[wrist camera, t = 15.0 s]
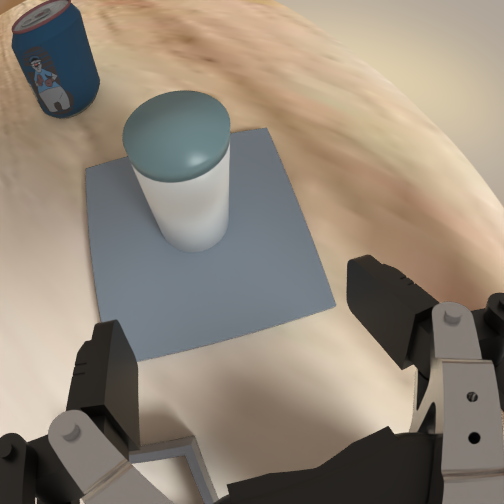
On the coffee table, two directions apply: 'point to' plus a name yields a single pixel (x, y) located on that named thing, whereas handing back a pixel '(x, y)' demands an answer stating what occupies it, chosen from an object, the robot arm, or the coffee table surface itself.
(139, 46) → the coffee table surface
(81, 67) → the soda can
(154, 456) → the sleeve
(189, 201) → the ball
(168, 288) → the slate board
